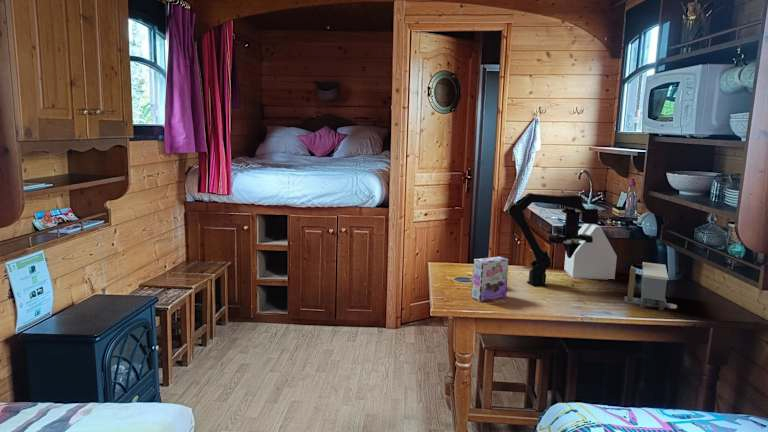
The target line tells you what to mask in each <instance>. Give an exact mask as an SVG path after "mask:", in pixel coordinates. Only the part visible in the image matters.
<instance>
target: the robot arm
mask: <svg viewBox="0 0 768 432" xmlns="http://www.w3.org/2000/svg"><path fill="white" fill-rule="evenodd" d="M532 203H535V204H545V205H546V204H547V205H559V206H563V207H564V208H563V209H561V213H563V214H565V222H564V223H563V224H562V227H560V226H553V229H552V230H553V234H550V235H549V237H548V242H550V243H553V244H555V245H560V244H562V245H563V247H564V249H565V254H566V253H567V257H568V258H571V257H572V255H573V253H574V252H575V250H576V249H577V248H578V246H579V245H581V243H579V241H584V240H585V241H586V243H592V242H593V238H592V236H590V235H587V234H579V235H578V231H579V230H580V229H581V227H582V226H580V221H581V222H582V224H583V225H584V224H595V225H598V224H599V220H600V217H599V208H586V207H585V205H584V204H583V199H582V197H580V196H579V195H577V194H576V193H568V194H567V193H566V194H560V195H556V194H555V195H554V194H542V193H532V192H528V193H526V195H525V194H524V196H523V197H521V198H520V199H517V201H515V202H512V203H510V204H509V205H508V207H507V211H508V212H507V213H508V214H509V215H510V217H511V218H512V219H513V221H514V222H516V224H517V226H518V228H519V229H520V230H521V231H520V232H522V234H523V236H524V238H525V241H526V242H527V244H528V245H529V247H530V250H531V251H532V255H533V259H534V260H533V261H532V262H531V263H530V264H529V265H530V269H529V275H528V280H527V281H526V283H527V284H529V285H530V286H532V287H546V286H547V284H546V280H547V274H546V273H547V271H546V270H548V269H549V268H550V267H551V264H552V263H551V259H552V258H551V257H550V255H549V253H548V251H547V250H546V248H543V249H542V248H541V247H540V244H539V243H538V241H537V240H536V237H535V236H534V234H533V232H532V231H531V229H530V226H529V224H528V222H527V220H526V217H525V213H524V211H525V210H526V209H527V208H528V207H530V205H532ZM576 209H577V210H576Z"/></svg>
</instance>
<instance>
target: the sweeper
mask: <svg viewBox="0 0 768 432" xmlns="http://www.w3.org/2000/svg"><path fill="white" fill-rule="evenodd" d="M636 274H637V268H636V267H633V266H630V270H629V277H628V278H629V280H628V287H627V296H625V295H624V300H623V301H624V303H626V302H627V303H628V304H632V305H633V304H634V305H640V301H641V297H640V298H639V297H634V291H635V284H636V283H635V281H636ZM666 304H667V299H666V298H665V304H664V309H667V307H666ZM658 305H659V300H653V299H646V307H647V306H648V307H653V308H654V307H655V308H658Z"/></svg>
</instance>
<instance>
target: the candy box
mask: <svg viewBox="0 0 768 432" xmlns="http://www.w3.org/2000/svg"><path fill="white" fill-rule="evenodd" d="M509 263H510V262H509V259H508V258H506V257H503V256H494V257H487V258H486V257H484V258H474V259H473V266H472V268H473V269H472V281H471V294H470V295H471V296H470V298H471V299H473V300H475V301H478V302H486V301H494V300H500V299H505V298H506V299H507V289H508V276H509V275H508V273H509Z"/></svg>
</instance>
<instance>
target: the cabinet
mask: <svg viewBox="0 0 768 432" xmlns="http://www.w3.org/2000/svg"><path fill="white" fill-rule="evenodd" d="M668 281H669V276H668V271H667V266H666V264H661V263H655V262H654V263H652V262H646V261H645V262H644V261H642V274H641V281H640V282H641V283H640V286H639V294H640V295H641V296H640V299H641V301H640V304H639V308H643V309H646V307H647V306H646V299H647V300H654V301H659V305H658V307H657V310H658V311H661V312H663V311H665V308H664V304H665V299H666V291H667V284H668Z"/></svg>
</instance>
